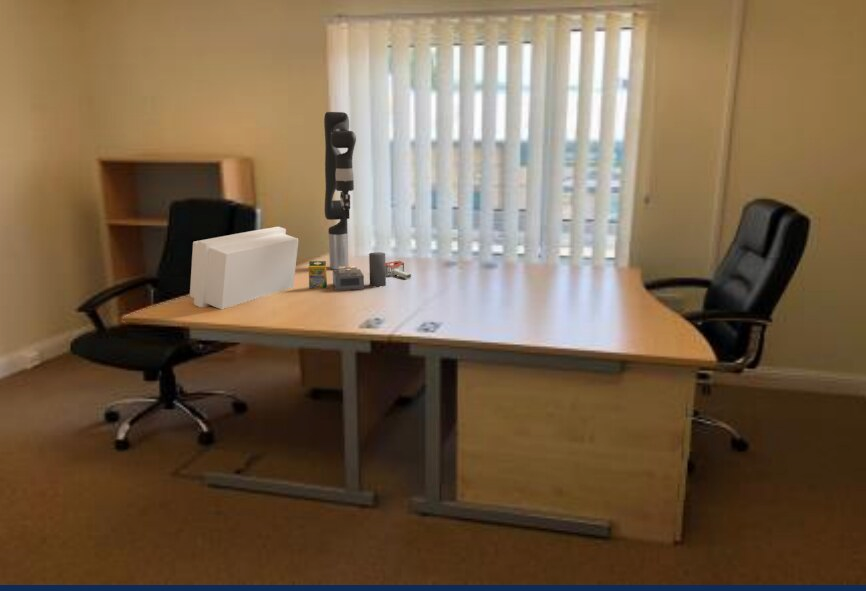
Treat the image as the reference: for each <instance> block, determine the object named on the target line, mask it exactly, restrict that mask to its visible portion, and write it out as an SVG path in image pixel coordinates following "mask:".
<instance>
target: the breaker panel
mask: <svg viewBox="0 0 866 591" xmlns="http://www.w3.org/2000/svg"><path fill="white" fill-rule="evenodd" d="M364 279H365V277H364V273H363V272H362V271H361V269H359V268H357V273H351V272H350V269H345V273H339V269H332V285H333V284H334V285H333V287H334V286H335V287H334V289H336V290H342V291H352V290H351V289H361V290H365V280H364ZM336 290H335V291H336Z"/></svg>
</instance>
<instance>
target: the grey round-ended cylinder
mask: <svg viewBox="0 0 866 591" xmlns="http://www.w3.org/2000/svg"><path fill="white" fill-rule="evenodd" d="M385 263H386V253H385V252H376V251H375V252H370V253H368V264H369V286H370V287H373V286H376V287H375V288H378V287H377V286H382V287H386V285H387V282H386V281H387V274H386V268H385Z"/></svg>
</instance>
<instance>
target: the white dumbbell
mask: <svg viewBox="0 0 866 591" xmlns="http://www.w3.org/2000/svg"><path fill="white" fill-rule="evenodd" d="M357 269H358V267H357V266H356V265H352V266H349V267H339V269H338V270H339V273H345V270H350V272H351V273H357Z"/></svg>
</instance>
